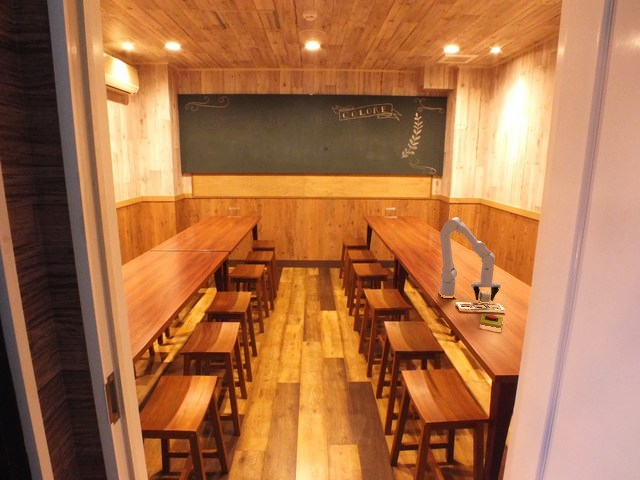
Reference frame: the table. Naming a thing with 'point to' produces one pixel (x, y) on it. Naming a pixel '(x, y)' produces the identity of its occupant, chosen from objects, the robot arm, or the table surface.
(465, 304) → the tan slotted board
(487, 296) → the birch peg
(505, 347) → the table surface
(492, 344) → the table surface
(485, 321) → the emergency button
